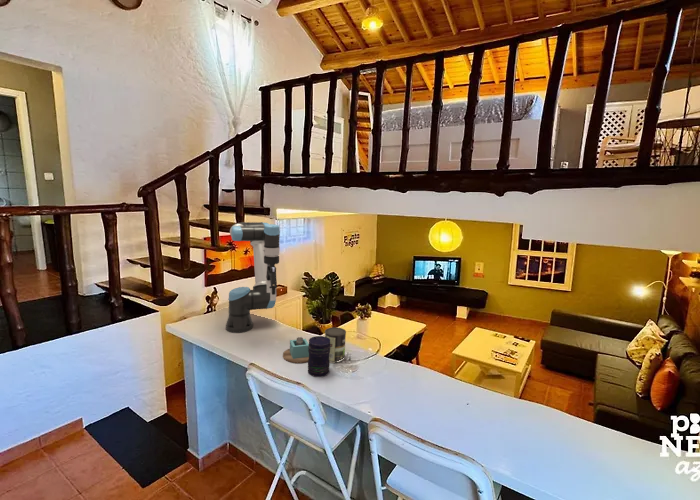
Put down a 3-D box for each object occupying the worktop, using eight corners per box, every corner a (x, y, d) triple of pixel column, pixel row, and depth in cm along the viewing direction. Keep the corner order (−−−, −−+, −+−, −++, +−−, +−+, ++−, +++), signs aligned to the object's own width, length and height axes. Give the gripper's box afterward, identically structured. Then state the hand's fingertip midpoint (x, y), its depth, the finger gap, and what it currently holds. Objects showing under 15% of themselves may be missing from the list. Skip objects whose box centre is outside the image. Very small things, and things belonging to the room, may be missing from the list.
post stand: (280, 350, 180) (280, 333, 178) (311, 346, 186) (311, 330, 184) (286, 365, 165) (286, 347, 164) (319, 361, 171) (319, 343, 169)
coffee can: (345, 354, 180) (346, 327, 177) (344, 363, 169) (345, 336, 167) (324, 352, 180) (325, 326, 177) (322, 362, 170) (323, 334, 167)
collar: (289, 351, 178) (289, 340, 177) (305, 349, 180) (305, 338, 179) (292, 358, 170) (293, 347, 169) (309, 356, 173) (309, 345, 172)
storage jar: (333, 371, 161) (335, 341, 159) (317, 379, 154) (318, 347, 152) (319, 363, 168) (320, 334, 166) (303, 370, 161) (303, 339, 159)
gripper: (261, 251, 187) (260, 289, 191) (267, 260, 164) (266, 304, 168) (275, 250, 190) (274, 289, 193) (283, 260, 167) (282, 303, 170)
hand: (271, 296), depth 181 cm, fingers open, 13 cm apart
